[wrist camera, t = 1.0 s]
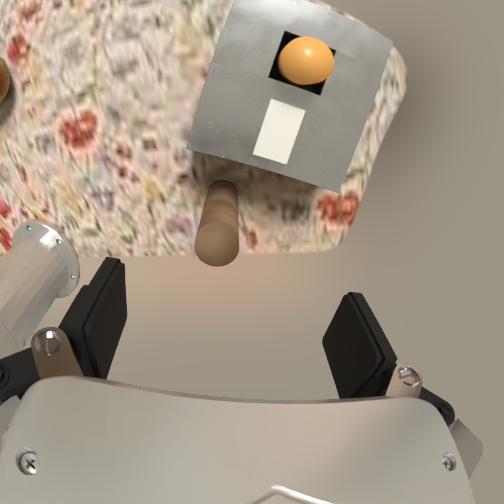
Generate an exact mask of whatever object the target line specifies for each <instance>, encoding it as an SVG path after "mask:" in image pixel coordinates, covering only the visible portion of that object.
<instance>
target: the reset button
mask: <svg viewBox="0 0 504 504" xmlns="http://www.w3.org/2000/svg"><path fill="white" fill-rule="evenodd" d="M333 67H334V57H333V54H332V52H331V50H330V49H329V47H328V46H327V45H326V44H325V43H324V42H322V41H321V40H319V39H317V38H314V37H307V36H304V37H298V38H296V39H294V40H292V41H291V42H289V43H288V44H287V45H286V46H285V47H284V48H283V49H282V50H281V51H280V53H279V54H278V56H277V58H276V70H277V72H278V74H279V76H280V77H281V78H282V79H283V80H284V81H286V82H287V83H289V84H292V85H296V86H303V85H309V84H314V83H319V82H321V81H324V80H325V79H326V78H328V77H329V75H330V74H331V73H332V70H333Z"/></svg>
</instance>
